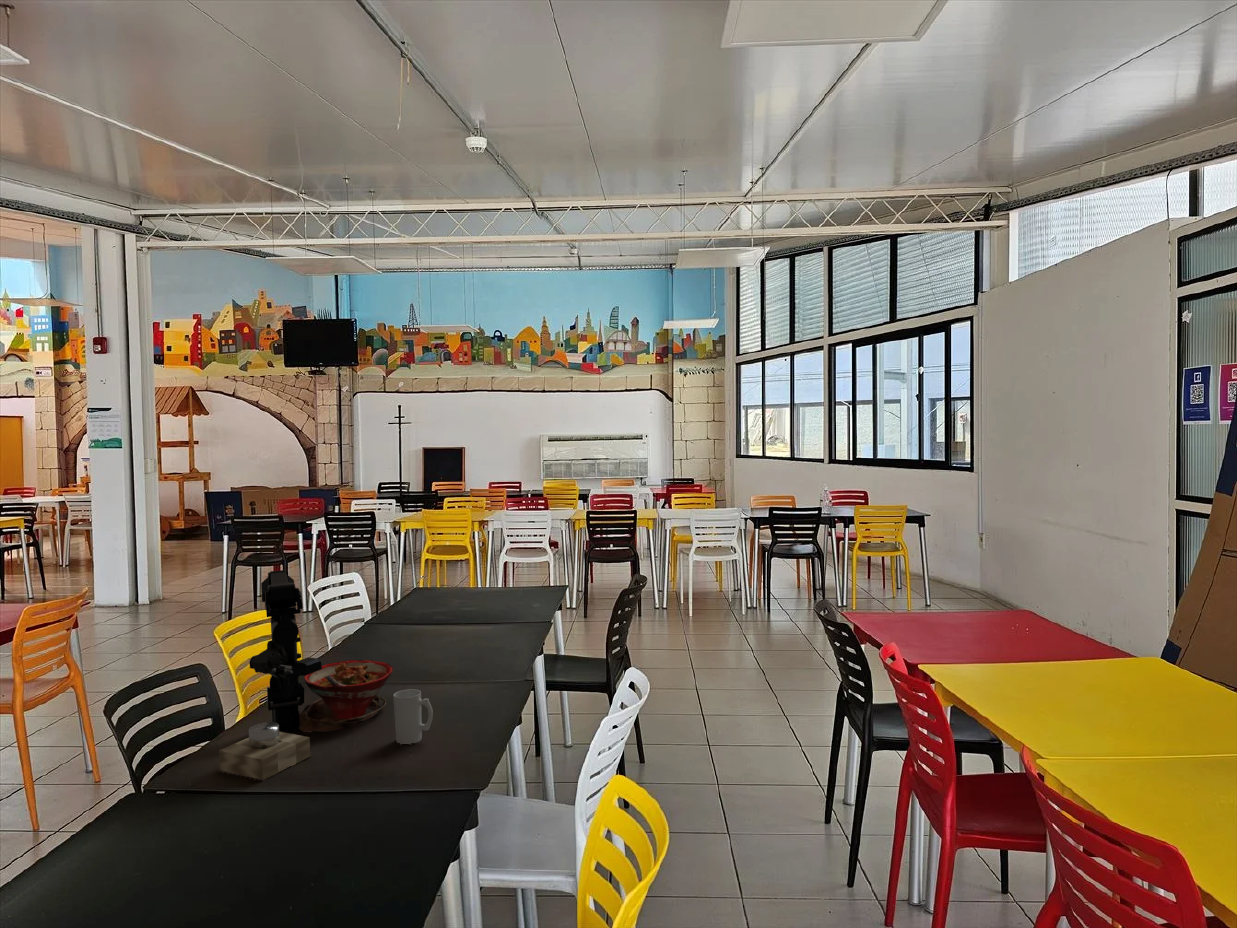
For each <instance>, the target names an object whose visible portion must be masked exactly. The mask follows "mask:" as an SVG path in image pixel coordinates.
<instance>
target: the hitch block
mask: <svg viewBox="0 0 1237 928" xmlns="http://www.w3.org/2000/svg"><path fill="white" fill-rule="evenodd" d="M279 737H280V742H279V743H278V744H277V745H275V746H273V747H270V748H266V749H264V750H263V749H252V748H250V747H249V737H247V738H244V739H243V740H240V741H238V742H235V743H233V744H230V745H229V746H226V747H224V748H221V749H219V750H218V762H219V770H220V769H221V770H224V771H228V772H232V773H237V774H240V775H245V776H250V777H253V778H259V779H266V778H269V777H271V776H273V775H275V774H277V773H278V772H280V771H282V770H284V769H286V768H287V767H289V766H293V765H295V764H296V763H298V762H300V761H302V760H304V759H306V758H308V757H310V758H311V741H310V737H309V736H304V735H298V734H295V733H290V732H289V733H284V732H279ZM295 766H296V765H295ZM293 767H294V766H293ZM277 775H278V774H277ZM275 776H276V775H275ZM273 777H274V776H273ZM271 778H272V777H271ZM269 779H270V778H269ZM266 780H267V779H266Z"/></svg>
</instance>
